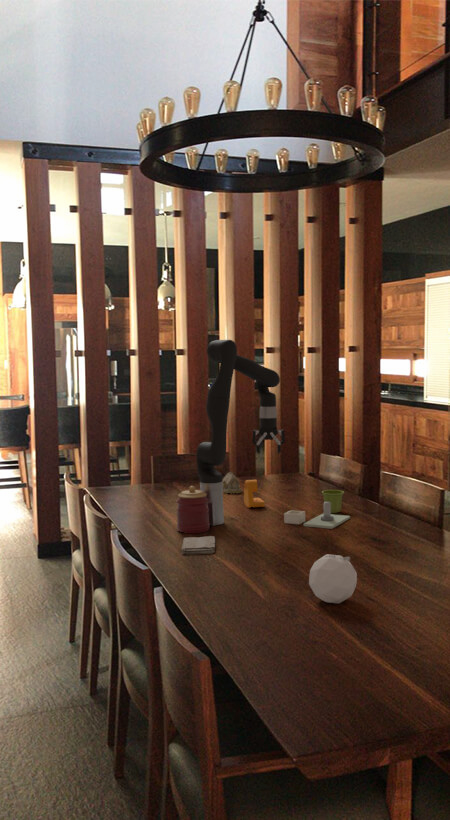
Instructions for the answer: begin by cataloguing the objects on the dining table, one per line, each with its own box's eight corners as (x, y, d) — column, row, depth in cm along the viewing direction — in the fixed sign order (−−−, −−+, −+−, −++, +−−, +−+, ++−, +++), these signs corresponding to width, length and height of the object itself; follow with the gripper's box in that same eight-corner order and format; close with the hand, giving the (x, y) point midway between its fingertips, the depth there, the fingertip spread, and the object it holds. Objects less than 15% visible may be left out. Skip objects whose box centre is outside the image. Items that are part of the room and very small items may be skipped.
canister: (205, 534, 294) (204, 489, 293) (173, 533, 297) (171, 488, 296) (213, 526, 307) (211, 483, 306) (181, 526, 310) (180, 482, 308)
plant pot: (343, 509, 332) (343, 489, 332) (344, 514, 323) (344, 493, 322) (321, 509, 333) (321, 489, 333) (322, 514, 324) (322, 494, 323)
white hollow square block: (298, 524, 306) (298, 514, 306) (284, 523, 310) (284, 513, 309) (305, 521, 312) (305, 511, 312) (291, 519, 315) (290, 510, 315)
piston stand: (331, 528, 298) (331, 508, 297) (303, 526, 304) (303, 506, 303) (350, 518, 315) (349, 499, 314) (322, 515, 321) (322, 496, 320)
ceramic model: (216, 490, 387) (216, 470, 386) (237, 488, 390) (237, 468, 389) (225, 495, 373) (224, 474, 372) (247, 493, 377) (246, 473, 376)
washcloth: (181, 556, 266) (181, 547, 266) (182, 543, 284) (182, 535, 284) (215, 555, 266) (215, 546, 266) (214, 542, 284) (214, 533, 284)
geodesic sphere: (364, 572, 220) (335, 536, 219) (375, 587, 206) (344, 548, 205) (325, 603, 220) (296, 567, 219) (334, 620, 207) (302, 582, 206)
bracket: (265, 508, 340) (264, 481, 339) (249, 509, 339) (248, 482, 338) (259, 503, 351) (258, 477, 350) (244, 504, 349) (243, 478, 348)
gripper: (252, 417, 332) (252, 454, 333) (284, 417, 332) (285, 454, 333) (251, 416, 340) (252, 452, 341) (284, 415, 339) (284, 452, 341)
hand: (268, 453), depth 337 cm, fingers open, 8 cm apart
